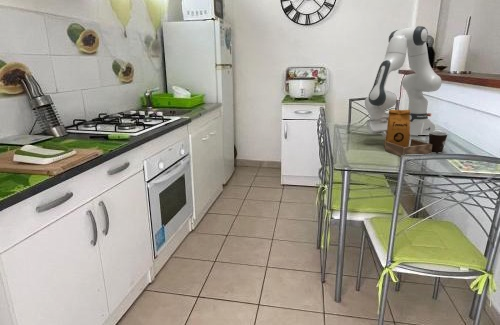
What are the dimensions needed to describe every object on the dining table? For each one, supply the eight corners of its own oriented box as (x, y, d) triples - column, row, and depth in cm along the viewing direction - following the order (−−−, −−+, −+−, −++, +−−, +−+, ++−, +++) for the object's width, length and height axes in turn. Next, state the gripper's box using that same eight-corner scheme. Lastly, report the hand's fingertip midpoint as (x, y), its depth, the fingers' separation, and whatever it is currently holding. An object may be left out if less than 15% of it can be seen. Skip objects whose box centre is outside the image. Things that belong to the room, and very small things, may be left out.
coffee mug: (435, 154, 174) (438, 135, 171) (422, 150, 182) (425, 132, 179) (452, 152, 177) (455, 134, 174) (439, 148, 185) (442, 130, 182)
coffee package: (409, 151, 181) (414, 111, 174) (384, 149, 185) (388, 110, 178) (407, 146, 190) (412, 108, 183) (384, 145, 194) (388, 108, 187)
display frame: (411, 147, 188) (412, 138, 187) (431, 153, 176) (432, 144, 174) (384, 150, 183) (385, 141, 182) (403, 157, 170) (404, 147, 169)
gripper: (367, 117, 192) (376, 136, 186) (396, 114, 198) (406, 134, 192) (362, 123, 197) (371, 142, 191) (390, 121, 203) (400, 139, 197)
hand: (389, 138), depth 192 cm, fingers closed
